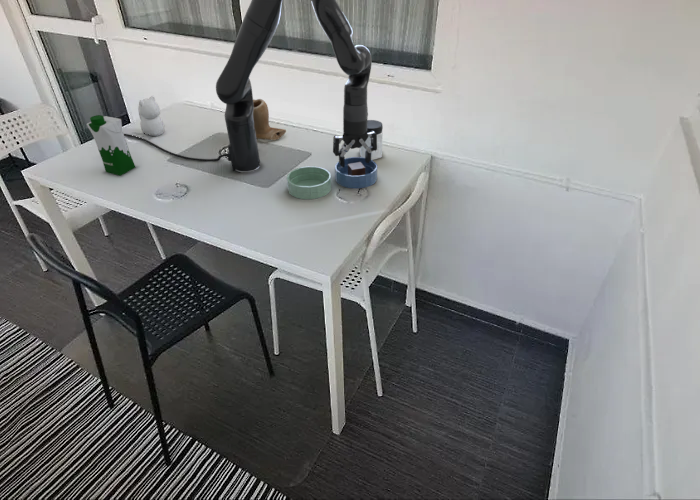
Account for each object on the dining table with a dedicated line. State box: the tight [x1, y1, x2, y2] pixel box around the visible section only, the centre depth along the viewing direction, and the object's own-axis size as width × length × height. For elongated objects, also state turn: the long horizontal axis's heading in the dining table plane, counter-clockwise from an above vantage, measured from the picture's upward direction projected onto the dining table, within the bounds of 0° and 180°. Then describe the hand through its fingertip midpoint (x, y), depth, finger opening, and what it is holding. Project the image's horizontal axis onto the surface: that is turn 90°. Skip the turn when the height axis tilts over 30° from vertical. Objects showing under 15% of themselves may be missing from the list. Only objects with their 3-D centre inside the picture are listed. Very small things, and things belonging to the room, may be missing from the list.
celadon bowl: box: [286, 165, 332, 200], centre depth 146 cm, size 14×14×5 cm
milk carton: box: [86, 114, 136, 177], centre depth 155 cm, size 9×9×20 cm
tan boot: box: [253, 98, 287, 141], centre depth 178 cm, size 15×12×15 cm
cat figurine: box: [137, 95, 165, 137], centre depth 183 cm, size 9×12×15 cm
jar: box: [359, 119, 384, 161], centre depth 164 cm, size 9×8×12 cm
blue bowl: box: [334, 156, 378, 189], centre depth 151 cm, size 14×14×5 cm
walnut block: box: [348, 162, 365, 176], centre depth 151 cm, size 5×5×5 cm
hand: (354, 164), depth 149 cm, fingers open, 8 cm apart
